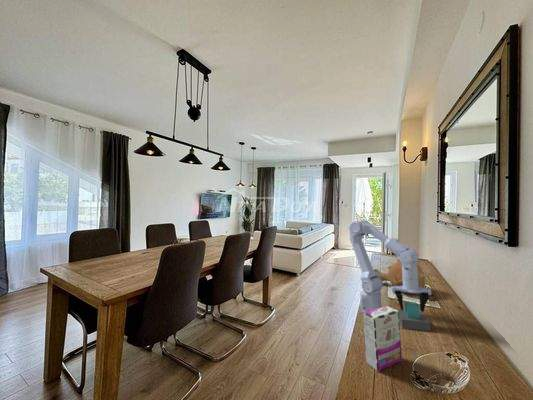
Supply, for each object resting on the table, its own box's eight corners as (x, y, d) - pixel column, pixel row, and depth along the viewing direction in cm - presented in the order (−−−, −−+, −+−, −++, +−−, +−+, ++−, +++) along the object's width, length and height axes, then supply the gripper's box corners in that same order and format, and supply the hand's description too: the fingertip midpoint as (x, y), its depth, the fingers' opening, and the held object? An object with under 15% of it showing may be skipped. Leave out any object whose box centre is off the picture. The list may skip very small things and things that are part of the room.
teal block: (407, 317, 97) (406, 305, 97) (404, 312, 102) (404, 301, 102) (419, 318, 96) (419, 306, 96) (416, 314, 100) (415, 302, 100)
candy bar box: (388, 353, 80) (386, 304, 80) (402, 362, 75) (399, 310, 76) (364, 362, 75) (362, 311, 76) (377, 372, 70) (375, 317, 71)
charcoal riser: (402, 328, 95) (401, 319, 96) (396, 317, 105) (396, 309, 105) (430, 331, 92) (429, 322, 93) (422, 319, 102) (421, 311, 102)
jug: (413, 280, 120) (361, 274, 144) (428, 305, 124) (375, 295, 148) (422, 252, 131) (372, 252, 155) (435, 276, 135) (385, 272, 159)
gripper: (393, 279, 98) (394, 312, 97) (433, 281, 93) (435, 315, 93) (389, 274, 105) (391, 305, 104) (426, 276, 100) (428, 308, 100)
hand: (411, 309), depth 99 cm, fingers open, 7 cm apart
